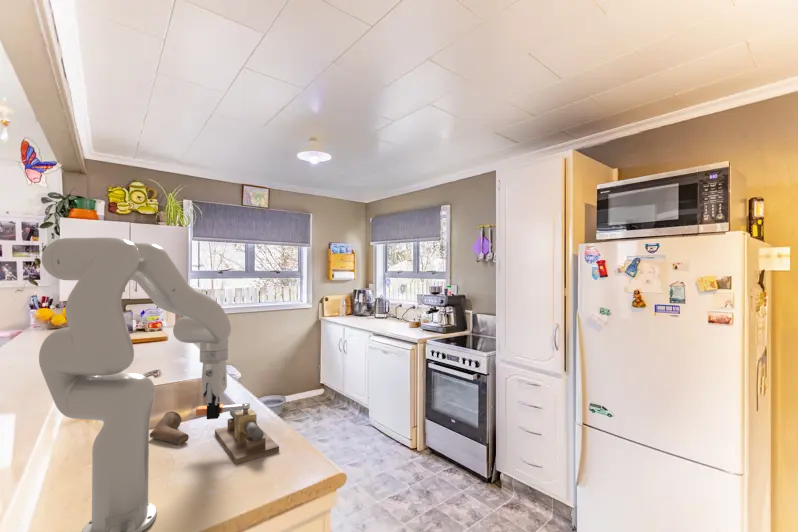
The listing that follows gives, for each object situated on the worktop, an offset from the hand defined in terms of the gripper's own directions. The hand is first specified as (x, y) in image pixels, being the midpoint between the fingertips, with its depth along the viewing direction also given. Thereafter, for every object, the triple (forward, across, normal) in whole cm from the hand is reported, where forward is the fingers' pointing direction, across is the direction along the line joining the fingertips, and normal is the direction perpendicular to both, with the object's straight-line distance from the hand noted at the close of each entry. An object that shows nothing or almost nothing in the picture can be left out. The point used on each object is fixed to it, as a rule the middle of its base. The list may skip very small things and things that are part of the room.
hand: (213, 417), depth 111 cm
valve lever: (0, +3, -2) cm, 4 cm away
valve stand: (+10, +4, -8) cm, 13 cm away
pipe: (+10, +13, +15) cm, 22 cm away
